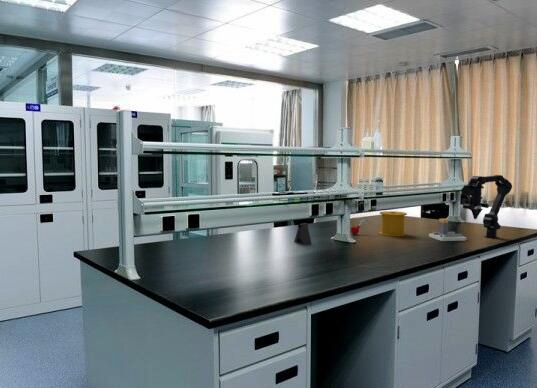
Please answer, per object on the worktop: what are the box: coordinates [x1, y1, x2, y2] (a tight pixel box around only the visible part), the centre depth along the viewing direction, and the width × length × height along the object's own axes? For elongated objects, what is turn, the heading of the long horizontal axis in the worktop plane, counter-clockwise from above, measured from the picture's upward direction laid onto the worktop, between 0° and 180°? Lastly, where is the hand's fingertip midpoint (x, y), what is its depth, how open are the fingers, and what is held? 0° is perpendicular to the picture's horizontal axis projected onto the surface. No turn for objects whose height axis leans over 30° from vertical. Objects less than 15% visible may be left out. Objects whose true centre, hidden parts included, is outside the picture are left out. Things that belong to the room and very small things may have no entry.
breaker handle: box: [438, 218, 449, 235], centre depth 285 cm, size 4×6×10 cm, turn 9°
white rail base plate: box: [428, 231, 468, 242], centre depth 286 cm, size 17×16×4 cm
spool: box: [378, 210, 408, 237], centre depth 301 cm, size 18×18×15 cm
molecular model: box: [349, 219, 367, 235], centre depth 298 cm, size 18×6×10 cm, turn 126°
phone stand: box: [293, 222, 312, 245], centre depth 268 cm, size 9×6×12 cm, turn 43°
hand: (475, 219), depth 285 cm, fingers closed
